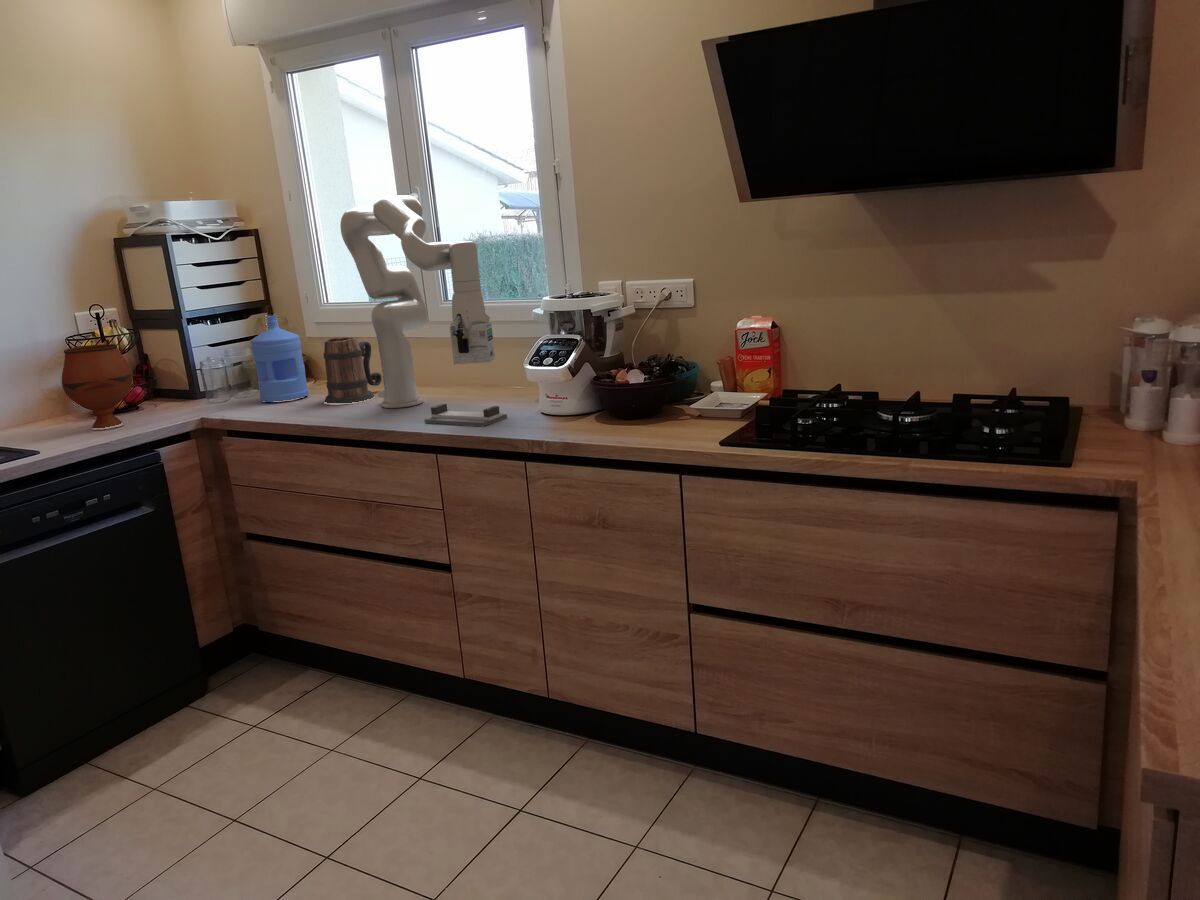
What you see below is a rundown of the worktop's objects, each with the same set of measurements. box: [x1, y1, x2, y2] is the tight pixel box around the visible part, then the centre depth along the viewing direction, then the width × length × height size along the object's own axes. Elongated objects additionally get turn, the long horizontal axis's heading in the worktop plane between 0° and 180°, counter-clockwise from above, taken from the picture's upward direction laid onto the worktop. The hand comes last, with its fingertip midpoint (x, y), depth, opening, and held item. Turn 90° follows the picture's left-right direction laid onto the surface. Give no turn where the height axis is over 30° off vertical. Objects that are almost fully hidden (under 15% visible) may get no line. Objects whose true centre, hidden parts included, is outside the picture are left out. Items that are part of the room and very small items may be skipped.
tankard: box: [323, 337, 383, 403], centre depth 283 cm, size 24×17×20 cm
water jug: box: [250, 315, 310, 402], centre depth 290 cm, size 16×16×28 cm
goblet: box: [61, 343, 134, 429], centre depth 263 cm, size 19×19×25 cm
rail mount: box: [424, 403, 508, 427], centre depth 238 cm, size 20×11×4 cm, turn 61°
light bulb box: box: [449, 321, 496, 365], centre depth 242 cm, size 11×7×11 cm, turn 85°
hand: (473, 350), depth 242 cm, fingers closed on light bulb box, 8 cm apart
